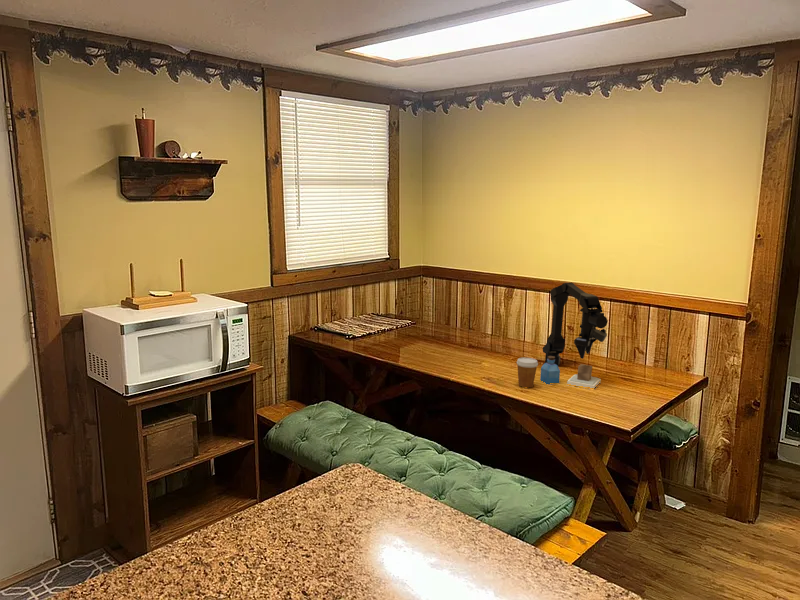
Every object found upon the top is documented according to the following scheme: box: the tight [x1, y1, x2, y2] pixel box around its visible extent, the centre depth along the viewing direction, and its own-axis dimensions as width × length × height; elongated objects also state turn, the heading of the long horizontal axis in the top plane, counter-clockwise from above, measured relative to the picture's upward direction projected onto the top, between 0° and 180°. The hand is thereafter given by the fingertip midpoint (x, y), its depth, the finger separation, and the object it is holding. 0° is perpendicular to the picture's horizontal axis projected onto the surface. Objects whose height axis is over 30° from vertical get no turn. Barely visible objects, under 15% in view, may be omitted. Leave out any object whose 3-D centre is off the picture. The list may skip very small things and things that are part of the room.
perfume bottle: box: [539, 356, 561, 385], centre depth 283 cm, size 6×6×12 cm
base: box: [566, 373, 602, 389], centre depth 282 cm, size 12×12×2 cm
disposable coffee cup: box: [516, 357, 539, 388], centre depth 276 cm, size 10×10×12 cm
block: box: [577, 363, 593, 381], centre depth 281 cm, size 5×5×6 cm
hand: (584, 356), depth 284 cm, fingers open, 9 cm apart
